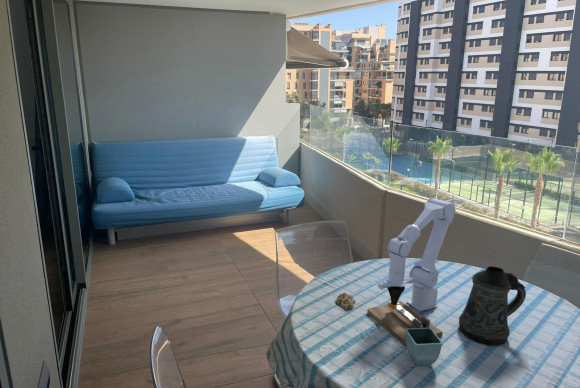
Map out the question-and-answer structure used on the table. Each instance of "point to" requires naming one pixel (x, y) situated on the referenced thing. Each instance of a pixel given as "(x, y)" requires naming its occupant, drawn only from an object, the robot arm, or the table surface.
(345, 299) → the mineral rock
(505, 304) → the beer stein
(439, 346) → the flower pot
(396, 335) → the base
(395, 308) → the press lever
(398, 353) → the table surface
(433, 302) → the robot arm
